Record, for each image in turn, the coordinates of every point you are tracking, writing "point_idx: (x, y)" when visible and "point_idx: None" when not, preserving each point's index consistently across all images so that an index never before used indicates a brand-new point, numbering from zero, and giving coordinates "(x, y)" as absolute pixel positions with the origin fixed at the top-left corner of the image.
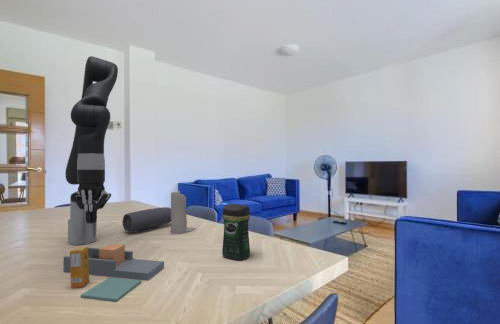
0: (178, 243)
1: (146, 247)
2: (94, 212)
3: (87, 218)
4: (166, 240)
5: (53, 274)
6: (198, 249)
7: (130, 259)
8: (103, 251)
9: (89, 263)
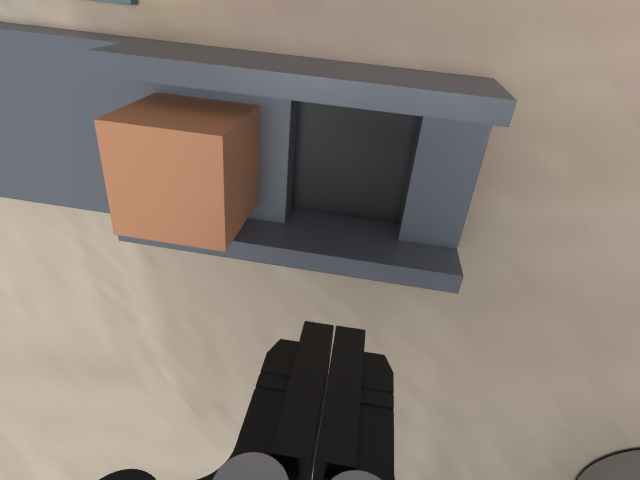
0: (138, 439)
1: None
2: (234, 456)
3: (348, 371)
4: None
5: (540, 36)
6: (8, 376)
7: None
8: (189, 127)
9: (285, 66)
